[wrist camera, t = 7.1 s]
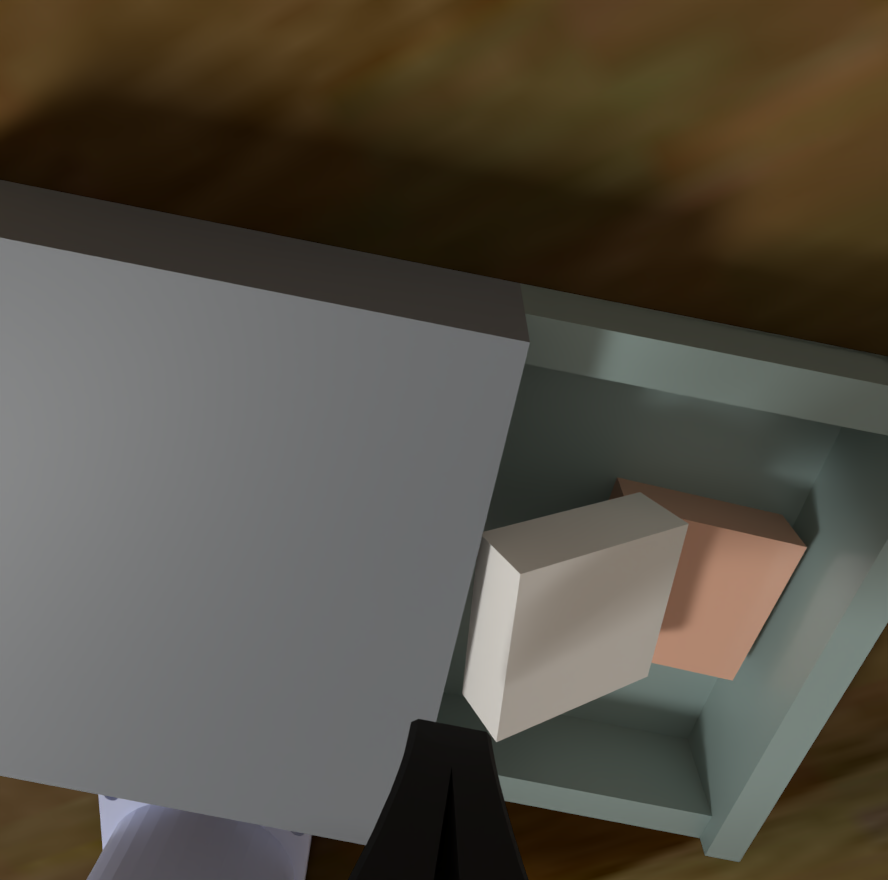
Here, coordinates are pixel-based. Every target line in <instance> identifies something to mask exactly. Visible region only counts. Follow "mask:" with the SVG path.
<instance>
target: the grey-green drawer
mask: <svg viewBox="0 0 888 880" xmlns="http://www.w3.org/2000/svg"><path fill="white" fill-rule="evenodd" d="M520 286H521V292H522V298H523V304H524V310H525V316H526V322H527V328H528V334H529V340H530V344H529V348H528V353H527V357H526V361H525V365H524V369H523V373H522V377H521V381H520V385H519V389H518V393H517V397H516V401H515V405H514V409H513V413H512V417H511V421H510V425H509V429H508V433H507V437H506V441H505V445H504V450H503V454H502V458H501V462H500V466H499V470H498V474H497V478H496V482H495V486H494V490H493V494H492V498H491V502H490V506H489V510H488V514H487V518H486V522H485V526H484V530H483V532H485V531H489V530H493V529H497V528H501V527H505V526H509V525H512V524H516V523H520V522H524V521H528V520H532V519H536V518H540V517H544V516H548V515H552V514H556V513H560V512H564V511H567V510H571V509H575V508H579V507H583V506H587V505H591V504H595V503H599V502H603V501H607V500H609V497H610V495H611V492H612V489H613V487H614V484H615V481H616V479H617V477H618V478H623V479H627V480H632V481H636V482H640V483H645V484H649V485H654V486H658V487H662V488H667V489H671V490H676V491H680V492H684V493H689V494H693V495H698V496H702V497H706V498H711V499H715V500H720V501H724V502H728V503H733V504H737V505H742V506H746V507H750V508H755V509H759V510H764V511H768V512H772V513H777V514H781V515H783V516H784V518H785V519H786V520H787V522H788V523H789V524H790V526H791V527H792V528H793V529H794V531H795V532H796V533H797V535H798V536H799V537H800V539H801V540H802V541H803V542H804V544H805V545H806V546H807V548H806V550H805V552H804V554H803V556H802V557H801V559H800V561H799V563H798V564H797V566H796V568H795V570H794V572H793V573H792V575H791V577H790V579H789V581H788V582H787V584H786V586H785V588H784V590H783V591H782V593H781V595H780V597H779V599H778V600H777V602H776V604H775V606H774V607H773V609H772V611H771V613H770V615H769V616H768V618H767V620H766V622H765V624H764V625H763V627H762V629H761V631H760V633H759V634H758V636H757V638H756V640H755V641H754V643H753V645H752V647H751V649H750V650H749V652H748V654H747V656H746V658H745V659H744V661H743V663H742V665H741V667H740V668H739V670H738V672H737V674H736V676H735V677H734V679H733V681H732V680H728V679H723V678H718V677H714V676H709V675H705V674H700V673H696V672H691V671H687V670H682V669H678V668H673V667H669V666H664V665H660V664H655V663H651V666H650V669H649V673H648V677H645V678H643V679H641V680H638V681H636V682H634V683H631V684H629V685H627V686H625V687H622V688H620V689H618V690H615V691H613V692H611V693H608V694H606V695H604V696H602V697H599V698H597V699H595V700H592V701H590V702H588V703H585V704H583V705H581V706H579V707H576V708H574V709H572V710H569V711H567V712H565V713H563V714H560V715H558V716H556V717H553V718H551V719H549V720H546V721H544V722H542V723H540V724H537V725H535V726H533V727H530V728H528V729H526V730H523V731H521V732H519V733H517V734H514V735H512V736H510V737H507V738H505V739H503V740H501V741H498V742H496V741H495V740H494V738H493V737H492V735H491V734H490V733H489V731H488V730H487V728H486V727H485V725H484V724H483V723H482V721H481V720H480V718H479V717H478V715H477V714H476V713H475V711H474V710H473V708H472V707H471V705H470V704H469V703H468V701H467V700H466V698H465V697H464V695H463V694H462V689H463V680H464V670H465V661H466V651H467V642H468V632H469V623H470V614H471V604H472V595H473V585H474V576H475V567H474V571H473V575H472V579H471V583H470V587H469V591H468V595H467V599H466V603H465V607H464V611H463V615H462V619H461V623H460V627H459V631H458V635H457V639H456V644H455V648H454V652H453V656H452V660H451V664H450V668H449V672H448V676H447V680H446V684H445V688H444V692H443V696H442V700H441V704H440V708H439V712H438V716H437V720H436V722H438V723H444V724H449V725H454V726H459V727H465V728H470V729H475V730H480V731H486V732H487V733H488V734H489V735H490V737H491V740H492V746H493V752H494V757H495V763H496V767H497V772H498V777H499V781H500V785H501V789H502V793H503V797H504V801H508V802H514V803H519V804H524V805H529V806H535V807H540V808H545V809H550V810H555V811H561V812H566V813H571V814H576V815H582V816H587V817H592V818H597V819H602V820H608V821H613V822H618V823H623V824H629V825H634V826H639V827H644V828H649V829H655V830H660V831H665V832H670V833H676V834H681V835H686V836H691V837H696V838H700V840H701V844H702V847H703V850H704V854H705V856H710V857H716V858H721V859H726V860H731V861H736V862H740V860H741V859H742V857H743V855H744V854H745V852H746V851H747V849H748V847H749V846H750V844H751V843H752V841H753V839H754V838H755V836H756V834H757V833H758V831H759V830H760V828H761V826H762V825H763V823H764V822H765V820H766V818H767V817H768V815H769V813H770V812H771V810H772V809H773V807H774V805H775V804H776V802H777V801H778V799H779V797H780V796H781V794H782V792H783V791H784V789H785V788H786V786H787V784H788V783H789V781H790V780H791V778H792V776H793V775H794V773H795V771H796V770H797V768H798V767H799V765H800V763H801V762H802V760H803V759H804V757H805V755H806V754H807V752H808V750H809V749H810V747H811V746H812V744H813V742H814V741H815V739H816V738H817V736H818V734H819V733H820V731H821V729H822V728H823V726H824V725H825V723H826V721H827V720H828V718H829V717H830V715H831V713H832V712H833V710H834V708H835V707H836V705H837V704H838V702H839V700H840V699H841V697H842V696H843V694H844V692H845V691H846V689H847V687H848V686H849V684H850V683H851V681H852V679H853V678H854V676H855V675H856V673H857V671H858V670H859V668H860V666H861V665H862V663H863V662H864V660H865V658H866V657H867V655H868V654H869V652H870V650H871V649H872V647H873V645H874V644H875V642H876V641H877V639H878V637H879V636H880V634H881V633H882V631H883V629H884V628H885V626H886V624H887V623H888V356H883V355H878V354H873V353H868V352H863V351H858V350H853V349H848V348H843V347H838V346H833V345H828V344H823V343H818V342H813V341H808V340H803V339H798V338H793V337H788V336H783V335H778V334H773V333H768V332H763V331H758V330H753V329H748V328H743V327H737V326H732V325H727V324H722V323H717V322H712V321H707V320H702V319H697V318H692V317H687V316H682V315H677V314H672V313H667V312H662V311H657V310H652V309H647V308H642V307H637V306H632V305H627V304H622V303H617V302H612V301H607V300H602V299H597V298H592V297H587V296H582V295H577V294H572V293H567V292H562V291H557V290H552V289H547V288H542V287H536V286H531V285H526V284H521V283H520ZM475 566H476V563H475Z"/></svg>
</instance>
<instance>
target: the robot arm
mask: <svg viewBox="0 0 888 880" xmlns="http://www.w3.org/2000/svg"><path fill="white" fill-rule="evenodd" d="M98 795H99V794H98ZM99 808H100V820H101V833H102V845H103V851H102V853H101V855H100V857H99V858H98V860H97V862H96V864H95V866H94V867H93V869H92V871H91V873H90V875H89V876H88V878H87V880H306V873H307V866H308V859H309V852H310V845H311V838H312V835H309V834H304V833H299V832H294V831H288V830H283V829H278V828H273V827H267V826H262V825H257V824H252V823H246V822H241V821H236V820H231V819H225V818H220V817H215V816H210V815H204V814H199V813H194V812H189V811H183V810H178V809H173V808H168V807H162V806H157V805H152V804H147V803H141V802H136V801H131V800H126V799H120V798H115V797H110V796H105V795H99ZM348 880H528V877H527V875H526V871H525V868H524V865H523V862H522V859H521V856H520V852H519V849H518V846H517V843H516V840H515V836H514V833H513V830H512V826H511V823H510V819H509V816H508V812H507V808H506V805H505V801H504V797H503V793H502V789H501V785H500V781H499V777H498V772H497V767H496V763H495V757H494V752H493V746H492V740H491V737H490V735H489V734H488V733H487V732H486V731H480V730H475V729H470V728H465V727H459V726H454V725H449V724H444V723H438V722H433V721H428V720H423V719H417V720H415V721H412V722H411V724H410V729H409V733H408V738H407V742H406V747H405V751H404V755H403V758H402V761H401V764H400V767H399V770H398V773H397V775H396V778H395V780H394V783H393V786H392V788H391V791H390V793H389V796H388V798H387V800H386V802H385V805H384V807H383V809H382V811H381V814H380V816H379V818H378V820H377V823H376V825H375V827H374V829H373V832H372V834H371V836H370V838H369V840H368V842H367V844H366V846H365V848H364V850H363V852H362V854H361V856H360V857H359V859H358V861H357V863H356V865H355V867H354V869H353V871H352V873H351V875H350V877H349V879H348Z"/></svg>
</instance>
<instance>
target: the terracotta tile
mask: <svg viewBox="0 0 888 880" xmlns="http://www.w3.org/2000/svg"><path fill="white" fill-rule="evenodd" d="M638 492H641V493H642V494H644V495H645V496H647V497H648V498H650V499H651V500H653V501H654V502H656V503H658V504H659V505H661V506H662V507H664V508H665V509H667V510H668V511H670V512H671V513H673V514H674V515H676V516H677V517H679V518H681V519H682V520H684V521H685V522H687V523H688V524H689V525H688V528H687V532H686V536H685V540H684V543H683V547H682V551H681V554H680V558H679V562H678V566H677V569H676V573H675V577H674V580H673V584H672V588H671V592H670V595H669V599H668V603H667V606H666V610H665V614H664V618H663V621H662V625H661V629H660V632H659V636H658V640H657V644H656V647H655V651H654V655H653V658H652V662H651V663H655V664H660V665H664V666H669V667H673V668H678V669H682V670H687V671H691V672H696V673H700V674H705V675H709V676H714V677H718V678H723V679H728V680H732V681H733V679H734V677H735V676H736V674H737V672H738V670H739V668H740V667H741V665H742V663H743V661H744V659H745V658H746V656H747V654H748V652H749V650H750V649H751V647H752V645H753V643H754V641H755V640H756V638H757V636H758V634H759V633H760V631H761V629H762V627H763V625H764V624H765V622H766V620H767V618H768V616H769V615H770V613H771V611H772V609H773V607H774V606H775V604H776V602H777V600H778V599H779V597H780V595H781V593H782V591H783V590H784V588H785V586H786V584H787V582H788V581H789V579H790V577H791V575H792V573H793V572H794V570H795V568H796V566H797V564H798V563H799V561H800V559H801V557H802V556H803V554H804V552H805V550H806V548H807V546H806V545H805V544H804V542H803V541H802V540H801V539H800V537H799V536H798V535H797V533H796V532H795V531H794V529H793V528H792V527H791V526H790V524H789V523H788V522H787V520H786V519H785V518H784V516H783V515H781V514H777V513H772V512H768V511H764V510H759V509H755V508H750V507H746V506H742V505H737V504H733V503H728V502H724V501H720V500H715V499H711V498H706V497H702V496H698V495H693V494H689V493H684V492H680V491H676V490H671V489H667V488H662V487H658V486H654V485H649V484H645V483H640V482H636V481H632V480H627V479H623V478H618V477H617V479H616V481H615V484H614V487H613V489H612V492H611V495H610V497H609V500H611V499H615V498H619V497H623V496H626V495H630V494H634V493H638Z"/></svg>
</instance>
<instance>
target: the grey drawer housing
mask: <svg viewBox="0 0 888 880" xmlns="http://www.w3.org/2000/svg"><path fill="white" fill-rule="evenodd" d="M529 344H530V340H529V334H528V328H527V322H526V316H525V310H524V304H523V298H522V292H521V286H520V283H516V282H511V281H506V280H501V279H496V278H491V277H486V276H481V275H476V274H471V273H466V272H461V271H456V270H451V269H446V268H441V267H436V266H431V265H426V264H421V263H416V262H411V261H406V260H401V259H396V258H391V257H386V256H381V255H376V254H371V253H366V252H361V251H356V250H351V249H346V248H340V247H335V246H330V245H325V244H320V243H315V242H310V241H305V240H300V239H295V238H290V237H285V236H280V235H275V234H270V233H265V232H260V231H255V230H250V229H245V228H240V227H235V226H230V225H225V224H220V223H215V222H210V221H205V220H200V219H195V218H190V217H185V216H180V215H175V214H170V213H165V212H160V211H155V210H150V209H144V208H139V207H134V206H129V205H124V204H119V203H114V202H109V201H104V200H99V199H94V198H89V197H84V196H79V195H74V194H69V193H64V192H59V191H54V190H49V189H44V188H39V187H34V186H29V185H24V184H19V183H14V182H9V181H4V180H0V776H5V777H10V778H15V779H21V780H26V781H31V782H36V783H42V784H47V785H52V786H57V787H63V788H68V789H73V790H78V791H84V792H89V793H94V794H99V795H105V796H110V797H115V798H120V799H126V800H131V801H136V802H141V803H147V804H152V805H157V806H162V807H168V808H173V809H178V810H183V811H189V812H194V813H199V814H204V815H210V816H215V817H220V818H225V819H231V820H236V821H241V822H246V823H252V824H257V825H262V826H267V827H273V828H278V829H283V830H288V831H294V832H299V833H304V834H309V835H315V836H320V837H325V838H330V839H336V840H341V841H346V842H351V843H357V844H362V845H366V844H367V842H368V840H369V838H370V836H371V834H372V832H373V829H374V827H375V825H376V823H377V820H378V818H379V816H380V814H381V811H382V809H383V807H384V805H385V802H386V800H387V798H388V796H389V793H390V791H391V788H392V786H393V783H394V780H395V778H396V775H397V773H398V770H399V767H400V764H401V761H402V758H403V755H404V751H405V747H406V742H407V738H408V733H409V729H410V724H411V722H412V721H415V720H417V719H423V720H428V721H433V722H436V720H437V716H438V712H439V708H440V704H441V700H442V696H443V692H444V688H445V684H446V680H447V676H448V672H449V668H450V664H451V660H452V656H453V652H454V648H455V644H456V639H457V635H458V631H459V627H460V623H461V619H462V615H463V611H464V607H465V603H466V599H467V595H468V591H469V587H470V583H471V579H472V575H473V571H474V567H475V563H476V559H477V555H478V551H479V547H480V542H481V538H482V534H483V530H484V526H485V522H486V518H487V514H488V510H489V506H490V502H491V498H492V494H493V490H494V486H495V482H496V478H497V474H498V470H499V466H500V462H501V458H502V454H503V450H504V445H505V441H506V437H507V433H508V429H509V425H510V421H511V417H512V413H513V409H514V405H515V401H516V397H517V393H518V389H519V385H520V381H521V377H522V373H523V369H524V365H525V361H526V357H527V353H528V348H529Z"/></svg>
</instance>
